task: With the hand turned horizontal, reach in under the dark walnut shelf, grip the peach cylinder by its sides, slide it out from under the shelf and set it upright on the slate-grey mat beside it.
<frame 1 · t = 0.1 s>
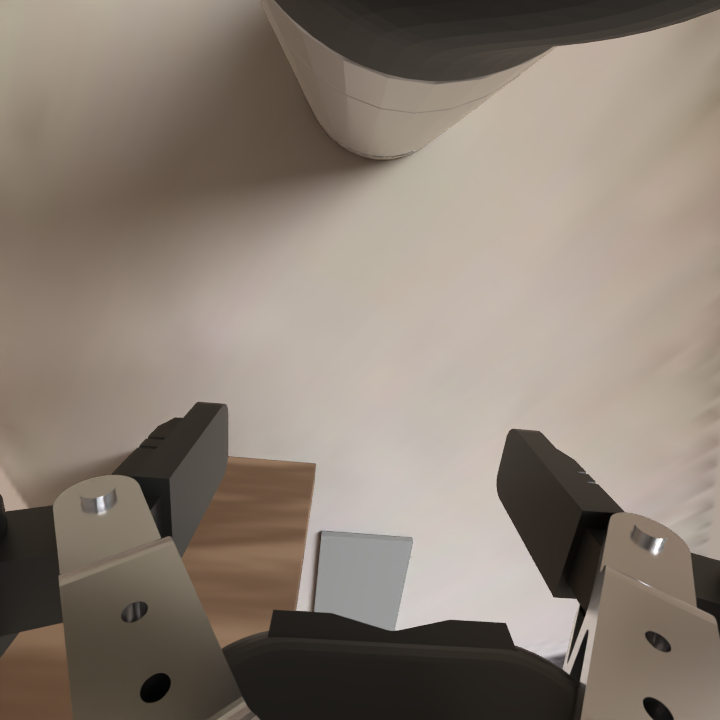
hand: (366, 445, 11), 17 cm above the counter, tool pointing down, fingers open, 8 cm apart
slate mat: (359, 583, 37), on the counter
walnut shelf: (229, 550, 36), on the counter
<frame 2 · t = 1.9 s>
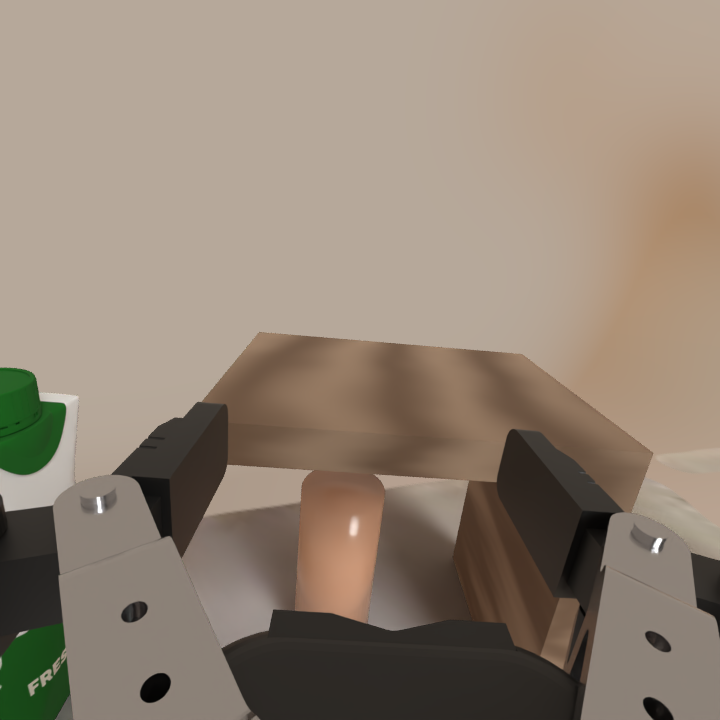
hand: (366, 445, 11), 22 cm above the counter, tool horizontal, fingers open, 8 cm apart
milk carton: (10, 691, 24), on the counter
peach cylinder: (330, 624, 30), on the counter
walnut shelf: (370, 625, 30), on the counter
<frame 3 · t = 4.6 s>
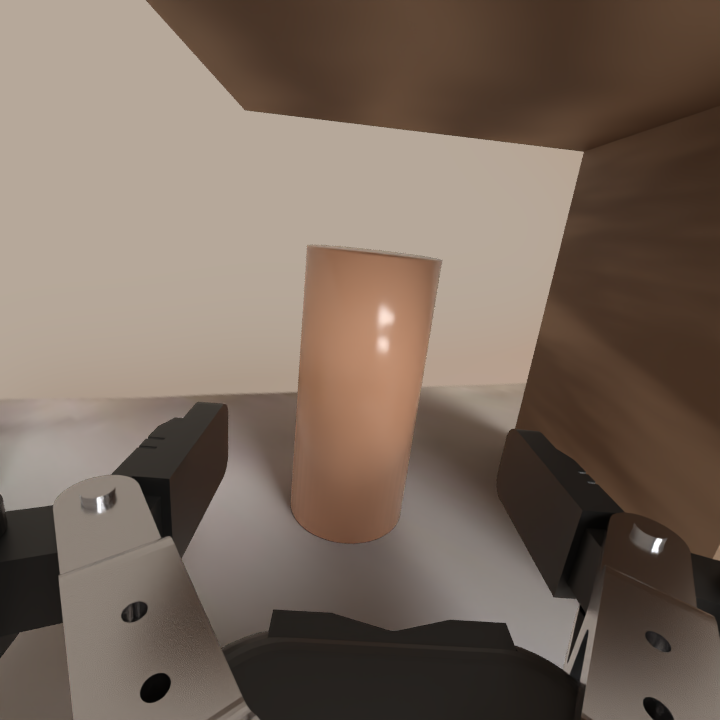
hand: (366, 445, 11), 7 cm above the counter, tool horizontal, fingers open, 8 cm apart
peach cylinder: (346, 502, 20), on the counter
walnut shelf: (406, 507, 20), on the counter
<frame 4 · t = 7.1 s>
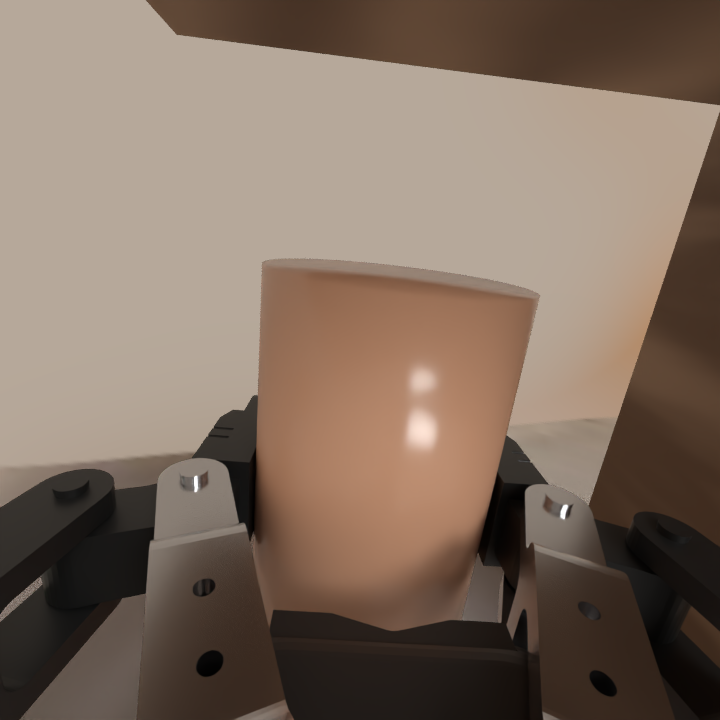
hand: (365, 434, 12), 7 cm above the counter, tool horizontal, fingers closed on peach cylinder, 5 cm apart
peach cylinder: (343, 687, 12), on the counter, touching gripper
walnut shelf: (444, 692, 12), on the counter
when the fingers open (8 cm above the counter, at t = 10.8 s): peach cylinder stays where it is, resting on slate mat.
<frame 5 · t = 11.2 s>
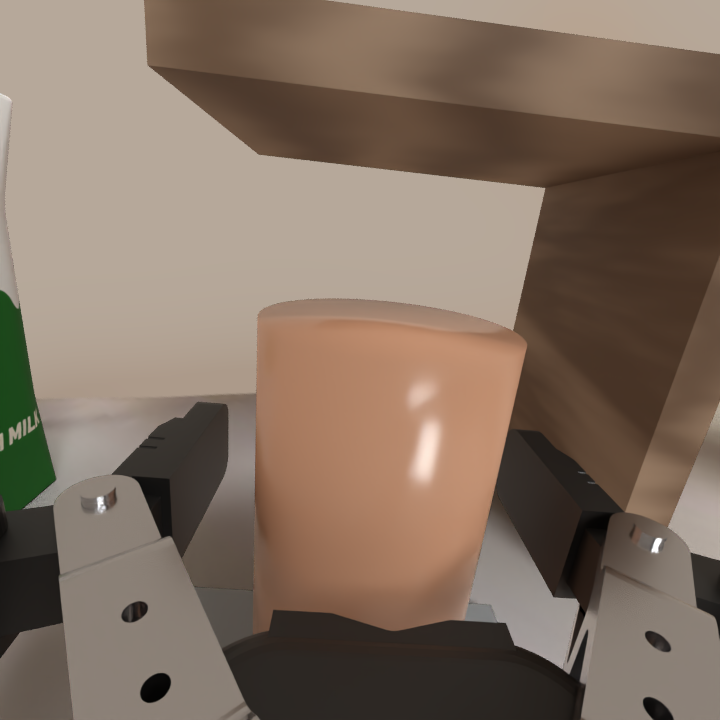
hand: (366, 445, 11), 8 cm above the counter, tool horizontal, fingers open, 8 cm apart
peach cylinder: (344, 713, 12), point 1 cm above the counter, touching slate mat
walnut shelf: (395, 487, 24), on the counter
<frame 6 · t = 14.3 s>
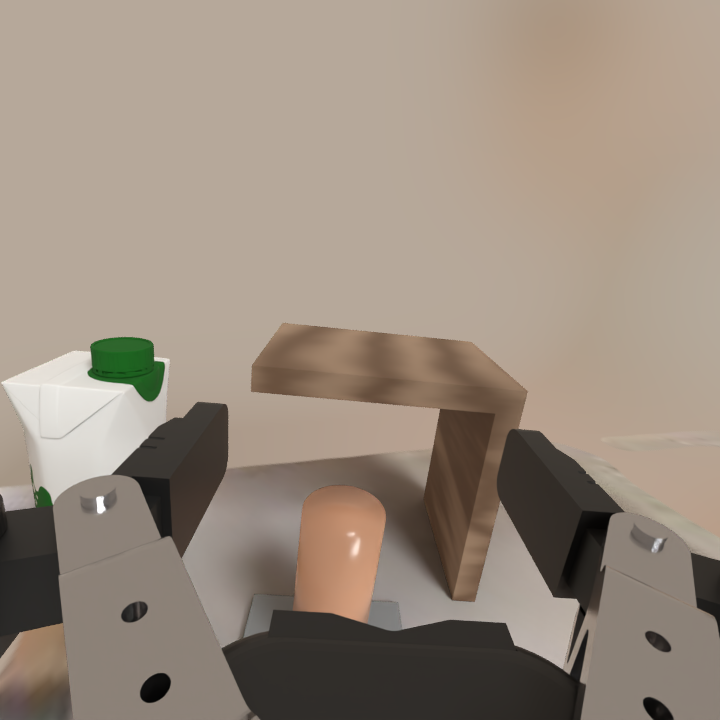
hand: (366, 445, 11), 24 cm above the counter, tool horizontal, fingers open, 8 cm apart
milk carton: (112, 562, 35), on the counter
slate mat: (323, 650, 30), on the counter
peach cylinder: (326, 645, 29), point 1 cm above the counter, touching slate mat
walnut shelf: (359, 536, 41), on the counter
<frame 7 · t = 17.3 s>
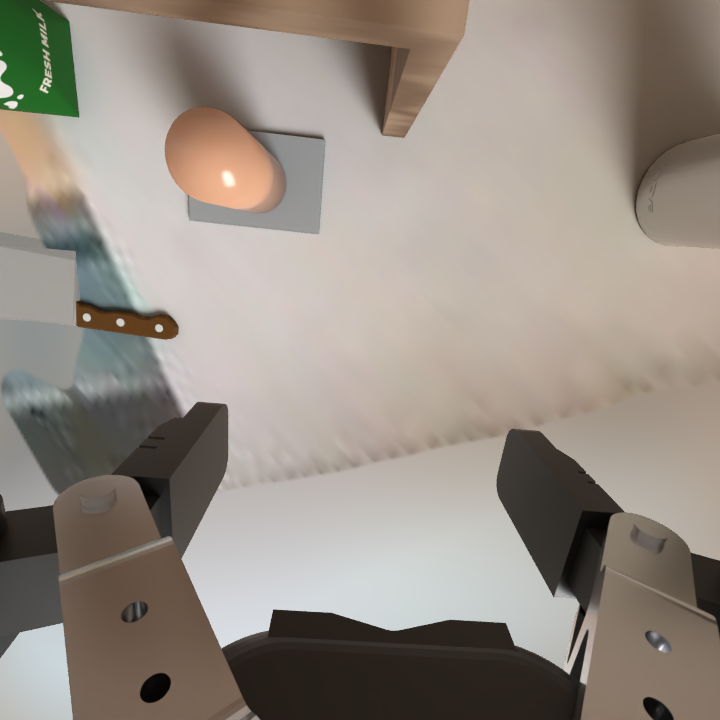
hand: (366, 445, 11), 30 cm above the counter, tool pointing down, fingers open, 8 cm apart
milk carton: (32, 66, 34), on the counter
slate mat: (256, 181, 37), on the counter
peach cylinder: (256, 181, 36), point 1 cm above the counter, touching slate mat
kitchen cleaver: (57, 291, 40), on the counter
walnut shelf: (296, 29, 33), on the counter
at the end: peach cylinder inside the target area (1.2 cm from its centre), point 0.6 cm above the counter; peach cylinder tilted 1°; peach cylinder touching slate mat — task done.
